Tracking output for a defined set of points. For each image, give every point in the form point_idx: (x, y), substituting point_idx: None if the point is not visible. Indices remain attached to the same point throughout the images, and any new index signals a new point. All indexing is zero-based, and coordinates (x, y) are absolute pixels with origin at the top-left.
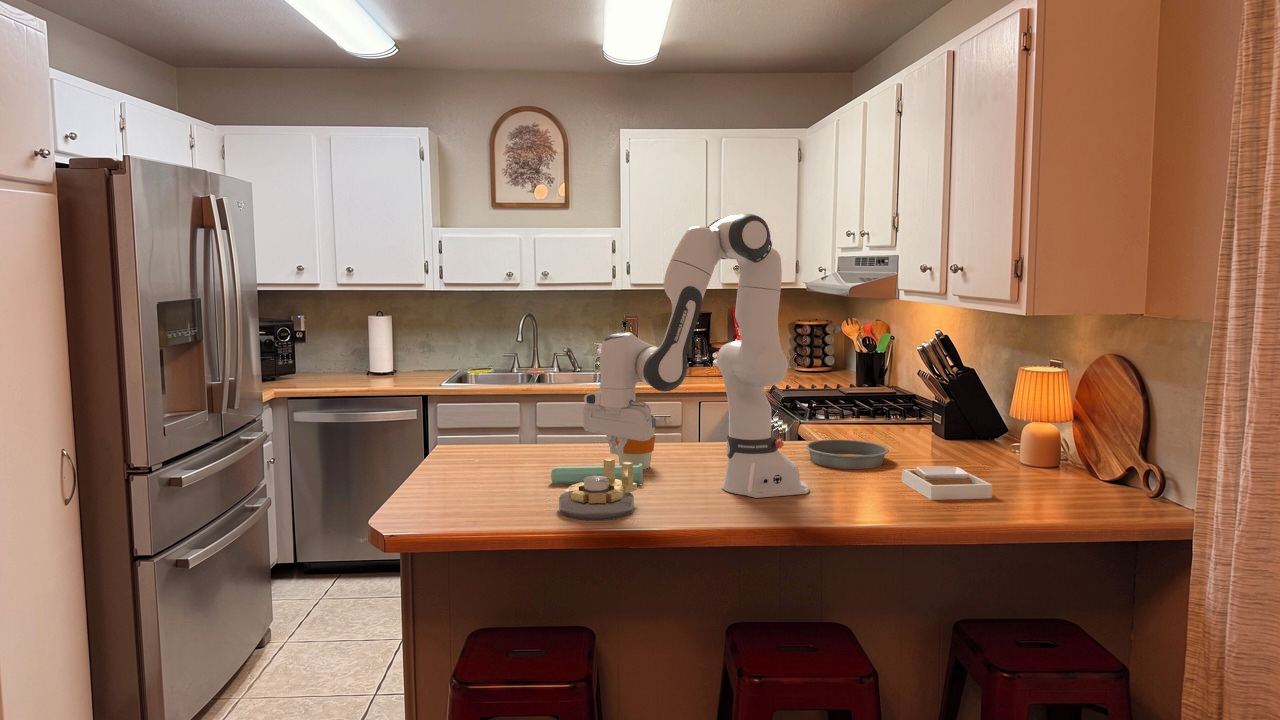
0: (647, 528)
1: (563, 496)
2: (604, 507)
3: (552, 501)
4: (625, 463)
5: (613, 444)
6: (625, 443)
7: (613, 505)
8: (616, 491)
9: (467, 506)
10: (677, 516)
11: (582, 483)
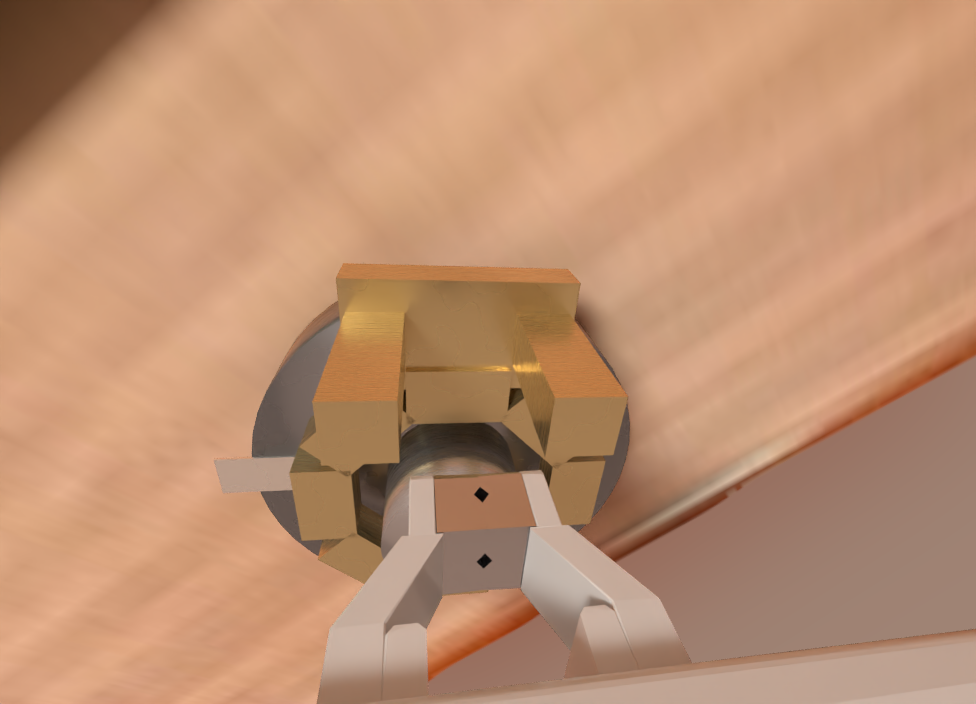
0: (741, 467)
1: (320, 540)
2: (577, 530)
3: (192, 463)
4: (581, 448)
5: (433, 590)
6: (615, 569)
7: (597, 501)
8: (581, 482)
9: (38, 662)
10: (808, 300)
11: (318, 489)
